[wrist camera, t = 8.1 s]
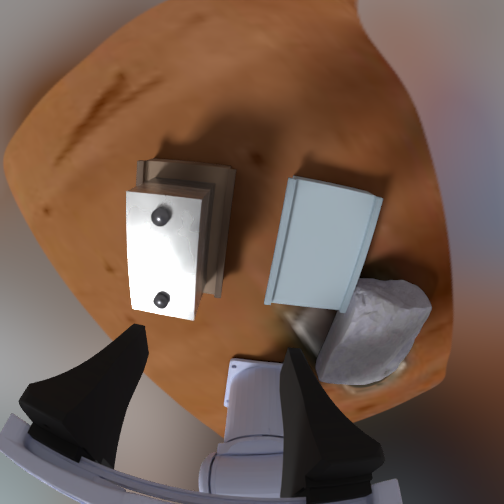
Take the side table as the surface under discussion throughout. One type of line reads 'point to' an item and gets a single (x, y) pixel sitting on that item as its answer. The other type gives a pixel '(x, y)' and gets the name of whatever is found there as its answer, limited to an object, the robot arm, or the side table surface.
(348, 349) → the stone block
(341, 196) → the bluegrey stand
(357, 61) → the side table surface
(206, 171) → the walnut stand
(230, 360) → the robot arm
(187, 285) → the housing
